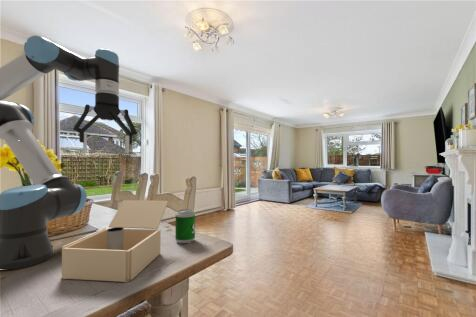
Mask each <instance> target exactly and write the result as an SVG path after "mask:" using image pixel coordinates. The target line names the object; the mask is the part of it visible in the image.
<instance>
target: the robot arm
mask: <svg viewBox="0 0 476 317" xmlns="http://www.w3.org/2000/svg"><path fill="white" fill-rule="evenodd" d="M23 44H24V45H23V50H24V51H23V52H24V53H22V54H20V55H18V56H16V57H15V58H13V59H11V61H9V62H7V63H6V64H4V65H2V66H0V140H1V141H2V140H3V141H5V143H6V145H7V146H8V147H9V149H10V150H11V151H12V154H13V155H14V156H15V159H17V161H18V162H19V164H20V165H21V167H22V169H23V170H24V172H25V173H26V175H27V176H28V178H29V179H30V180H31V181H32V183H33V184H30V185H23V186H16V187H11V188H8V189H5V190H3V191H1V193H0V269H13V270H17V269H22V268H23V269H24V268H26V267H30V266H34V265H37V264H40V263H42V262H45V261H48V260H49V259H50V258H52V257H53V256H54V245H53V244H52V242H51V239H50V236H49V234H48V222H50V221H53V220H57V219H62V218H64V217H70V216H73V215H75V214H78V213H79V212H81V211H82V210H83V209H84V207H85V206H86V204H87V197H88V195H87V191H86V189H85V188H84V187H83V186H82V184H81V185H80V184H78V183H73V182H72V181H71V179H70V178H69V177H68V176H67V175H62V174H61V173H60V171H59V170H58V168H57V167H56V165H55V164H54V163H53V161H52V160H51V159H50V157H49V155H48V154H47V152H46V150H44V149H43V147H42V145H41V144H40V142H39V141H38V140H37V137H35V135H34V133H33V128H34V125H35V121H34V119H35V117H34V115H33V113H32V111H31V110H30V109H29V108H28V107H27V106H25V105H23V104H19V103H17V102H13V101H7V100H5V99H7V98H9V97H10V96H12V95H13V94H15V93H17V92H18V91H20V90H22V89H24V88H25V87H27V86H29V85H30V84H32V83H33V82H35V81H37V80H39V79H40V78H42V77H44V76H46V75H47V74H49V73H51V72H52V71H54V70H56V71H59V72H62V73H63V74H64V75H65V77H67V78H68V79H69V80H71V81H78V82H81V81H82V82H84V81H92V80H93V81H94V82H95V84H94V85H95V86H94V87H95V88H94V90H95V91H94V92H95V94H94V98H95V100H94V102H95V103H94V104H95V105H94V106H93V105H90V104H88V103H87V104H85V106H84V109H83V113H82V114H81V115H80V117H79V119H78V120H77V122H76V123H75V125H74V126H73V128H72V130H73V132H77V133H78V134H79V137H78V139H79V140H78V141H79V143H82V153H87V151H88V149H87V148H88V142H87V141H88V139H87V138H88V134H87V132H86V131H87V130H88V129H90V128H91V126H92V125H94V124H95V123H96V122H97V121H98V120H99V119H100V120H102V121H109V122H110V121H114V122H115V123H116V124H117V125H118V127H119V128H120V129H121V130H122V131H123V132H124V133H125V134H126V135H125V137H124V154H129V153H130V145H132V143H133V136H135V135H137V134H138V132H137V129H136V128H135V126H134V123H133V121H132V120H131V118H130V115H129V110H128V109H120V107H119V106H120V96H119V95H120V93H119V92H120V82H119V80H120V79H119V78H120V77H119V76H120V63H119V60H120V59H119V56H118V53H116V52H115V51H113V50H111V49H106V48H98V49H97V50H95V53H94V57H93V56H92V57H82V56H80V55H78V54H77V53H74V52H72V51H71V50H68V49H67V48H65V47H63V46H61V45H59V44H57V43H56V42H54V41H52V40H50V39H48V38H45V37H44V36H40V35H31V36H29V37H28V38H27V40H26V41H25V42H24V43H23ZM92 111H94V113H95V116H94V117H93V118H92V119H90V120H89V121H88V123H87V124H85V125H84V126H82V127H81V125H82V124H83V122H84V120H85V119H86V117H87V115H88V114H89V113H91V112H92ZM120 114H121V116H123V118H124V120H125V123H126V124H125V123H124V122H123V121H122V120H121V118H120V117H119V115H120ZM126 125H127V126H126ZM80 127H81V128H80ZM18 140H20V141H18Z"/></svg>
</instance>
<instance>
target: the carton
mask: <svg viewBox="0 0 476 317" xmlns="http://www.w3.org/2000/svg"><path fill="white" fill-rule="evenodd" d="M110 228H111V227H108V228H106V227H104V228H102V229H100V230H97V231H94V232H93V233H90V234H88V235H86V236H84V237H81V238H79V239H77V240H75V241H72V242H70V243H67V244H65V245H63V246H61V279H63V280H64V279H65V280H66V279H68V280H84V281H85V280H86V281H105V282H106V281H107V282H121V283H122V282H124V283H125V282H127V283H128V282H130V281H132V280H133V279H135V277H137V276H139V274H140V273H141V272H142V271H143V270H144V269H145V268H146V267H147V266H148V265H149V264H150V263H151V262H153V261H154V260H155V259H156V258H157V257H158V256H159V255H160V254H161V240H162V239H161V235H162V234H161V229H144V228H124V250H107V230H108V229H110Z"/></svg>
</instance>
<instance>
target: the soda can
mask: <svg viewBox="0 0 476 317" xmlns="http://www.w3.org/2000/svg"><path fill="white" fill-rule="evenodd" d="M195 238H196V213H195V211H194V210H193V209H188V208H187V209H180V210H177V211H176V213H175V241H176V242H177V243H178V242H179V243H178V244H180V243H188V242H191V241H192V242H193V241H194V240H195ZM192 242H191V243H192ZM188 244H189V243H188Z"/></svg>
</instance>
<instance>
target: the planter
mask: <svg viewBox="0 0 476 317" xmlns="http://www.w3.org/2000/svg"><path fill="white" fill-rule="evenodd" d="M109 228H110V229H108V230H107V250H124V229H125V228H122V227H115V228H111V227H109Z"/></svg>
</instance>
